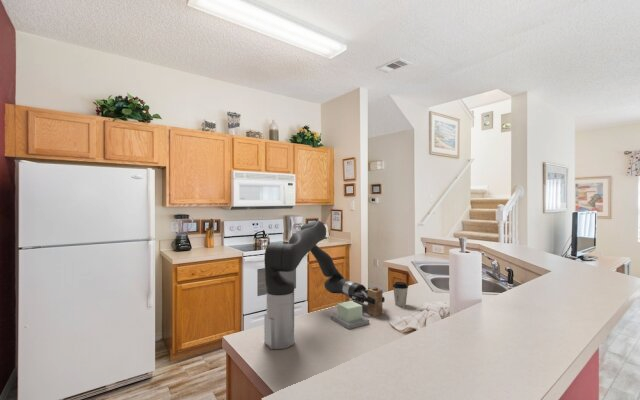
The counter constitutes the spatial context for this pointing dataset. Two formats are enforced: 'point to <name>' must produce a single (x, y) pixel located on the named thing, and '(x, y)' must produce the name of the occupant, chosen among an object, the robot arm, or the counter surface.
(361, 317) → the foundation
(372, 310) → the walnut pillar block
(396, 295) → the coffee cup
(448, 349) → the counter surface
